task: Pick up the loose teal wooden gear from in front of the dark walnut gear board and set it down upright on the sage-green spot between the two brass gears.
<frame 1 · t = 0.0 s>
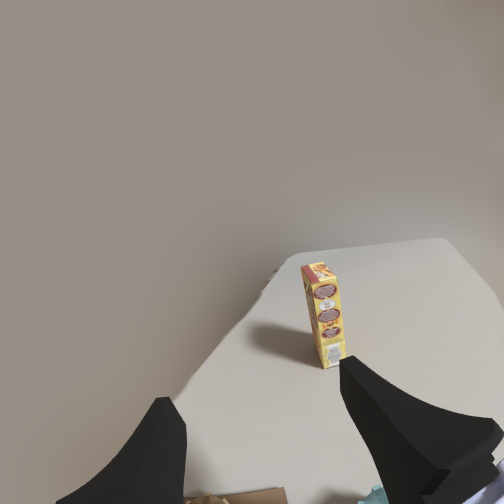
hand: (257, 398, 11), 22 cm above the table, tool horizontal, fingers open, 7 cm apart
candy box: (329, 353, 46), on the table
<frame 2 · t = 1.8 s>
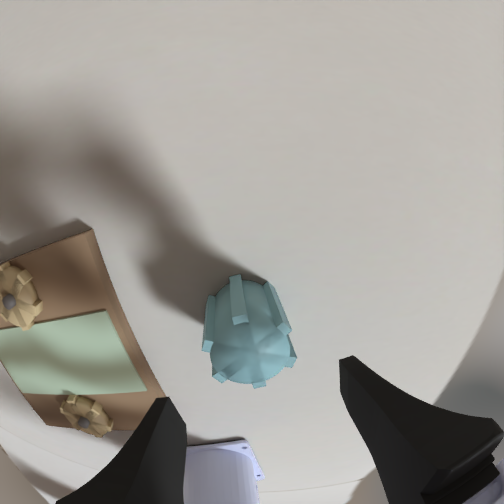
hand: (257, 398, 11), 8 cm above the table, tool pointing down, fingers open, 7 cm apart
gear board: (58, 352, 18), on the table
teal gear: (243, 308, 18), on the table
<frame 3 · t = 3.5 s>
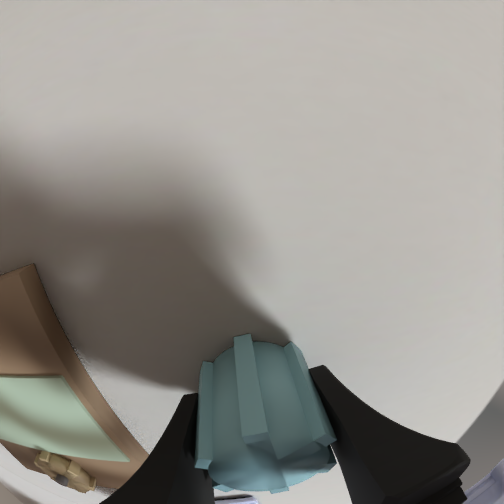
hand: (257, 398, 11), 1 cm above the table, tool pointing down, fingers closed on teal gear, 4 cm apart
gear board: (23, 405, 12), on the table
teal gear: (254, 376, 12), on the table, touching gripper
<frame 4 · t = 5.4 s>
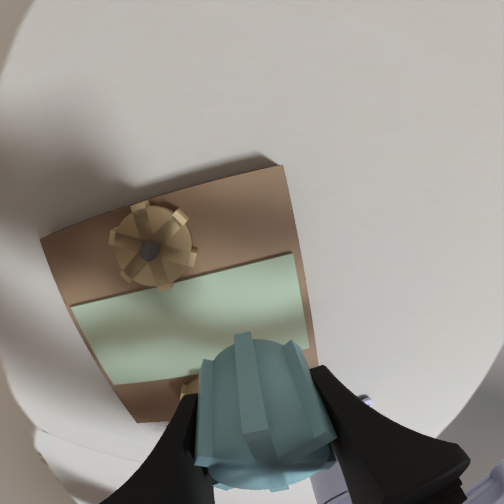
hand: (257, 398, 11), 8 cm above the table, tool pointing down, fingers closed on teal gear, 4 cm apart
gear board: (188, 322, 19), on the table
teal gear: (254, 374, 12), point 7 cm above the table, touching gripper
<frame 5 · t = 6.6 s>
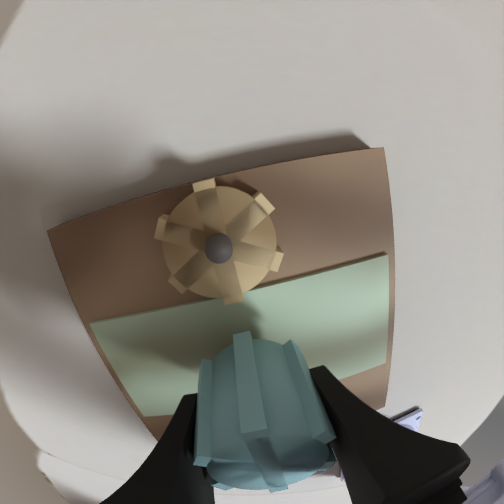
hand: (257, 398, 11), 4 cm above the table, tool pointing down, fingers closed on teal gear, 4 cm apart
gear board: (248, 339, 15), on the table
teal gear: (253, 374, 12), point 3 cm above the table, touching gripper
when the fingers open (4 cm above the table, at t = 7.3 s): teal gear drops 2 cm, resting on gear board.
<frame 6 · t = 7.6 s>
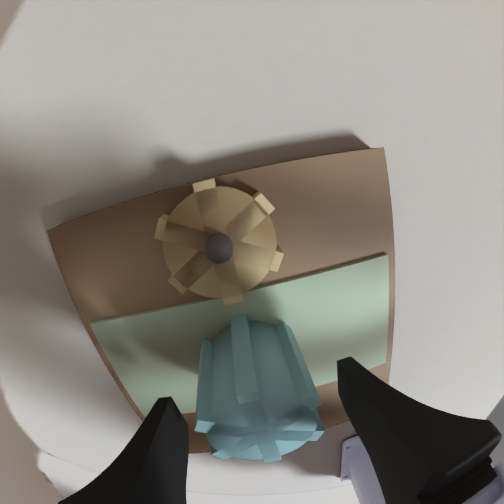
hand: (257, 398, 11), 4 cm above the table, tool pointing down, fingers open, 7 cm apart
gear board: (248, 339, 15), on the table
teal gear: (250, 354, 13), point 1 cm above the table, touching gear board
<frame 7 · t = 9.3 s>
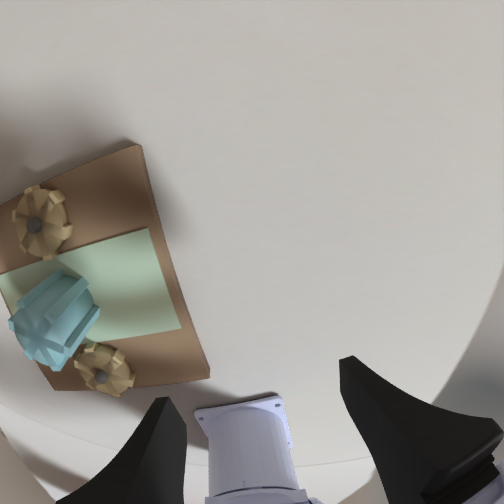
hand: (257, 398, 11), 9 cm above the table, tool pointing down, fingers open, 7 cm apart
gear board: (79, 293, 18), on the table
teal gear: (71, 301, 17), point 1 cm above the table, touching gear board
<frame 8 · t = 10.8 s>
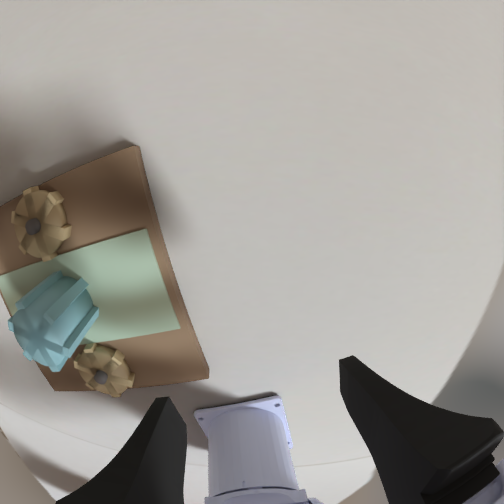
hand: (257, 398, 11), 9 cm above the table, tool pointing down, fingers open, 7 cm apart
gear board: (78, 294, 18), on the table
teal gear: (70, 302, 17), point 1 cm above the table, touching gear board
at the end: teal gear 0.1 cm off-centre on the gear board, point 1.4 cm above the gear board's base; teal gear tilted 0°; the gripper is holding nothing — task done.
